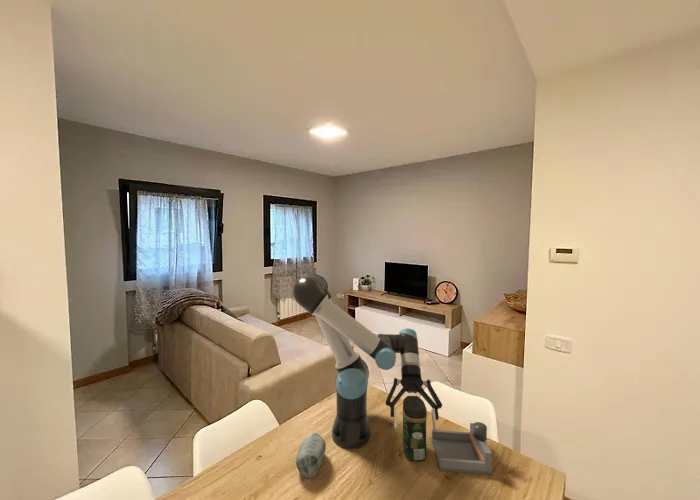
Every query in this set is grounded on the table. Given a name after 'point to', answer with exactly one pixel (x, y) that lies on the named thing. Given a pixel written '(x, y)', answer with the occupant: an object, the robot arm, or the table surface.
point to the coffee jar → (414, 428)
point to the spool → (310, 455)
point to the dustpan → (463, 450)
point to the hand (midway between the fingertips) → (415, 429)
